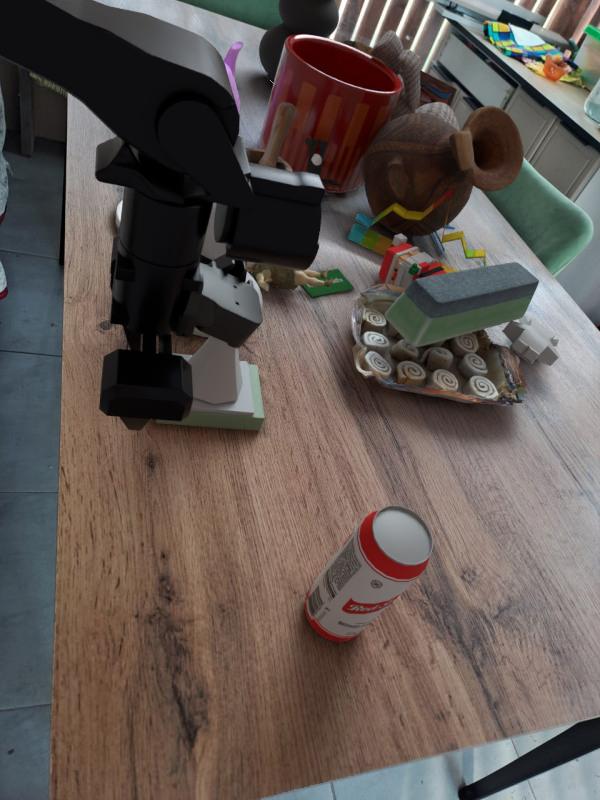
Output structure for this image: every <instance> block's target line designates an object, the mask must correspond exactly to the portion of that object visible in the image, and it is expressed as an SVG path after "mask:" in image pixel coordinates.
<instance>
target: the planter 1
mask: <svg viewBox="0 0 600 800" xmlns="http://www.w3.org/2000/svg"><path fill="white" fill-rule="evenodd" d="M341 42H342V41H338V40H335V39H331V38H328V37H326V38H324V37H320V36H315V35H308V34H296V35H292V36H289V37H288V38H287V39H286V40H285V43H284V47H283V50H282V54H281V58H280V61H279V65H278V69H277V72H276V76H275V80H274V84H272V87H271V91H270V95H269V96H270V97H269V99H268V103H267V106H266V110H265V115H264V117H263V122H262V126H261V130H260V133H259V138H258V145H257V146H258V149H262V150H266V147H267V144H268V141H269V138H270V134H271V129H272V125H273V121H274V118H275V114H276V111H277V109H278V106H279V105H280V104H281V103H282V102H287V103H290V104H292V105H293V106H294V107H295V108H296V115H295V118H294V121H293V124H292V126H291V128H290V130H289V132H288V134H287V136H286V137H285V139H284V142H283V144H282V146H281V149H280V151H279V157H280V158H282V159H283V160H284V161H286V162H287V163H288V164H289V165H290V167H291V168H292V171H293V172H306V170H307V164H308V160H309V145H306V143H305V140H306V138H311V139H314V140H317V141H318V140H323V141H326V142H327V147H326V150H325V153H324V156H323V161H322V169H321V173H320V178H321V179H331V180H334V181H336V182H338V183H339V184H342V186H335V185H331V184H323V186H324V188H325V190H326V193H329V194H330V193H331V194H342V193H350V192H352V191H353V192H354V191H355V190H357V189H359V188H360V187H361V186H363V185H364V178H363V160H364V156H365V153H366V151H367V149H368V147H369V145H370V143H371V142H372V140H373V139H374V137H375V136H376V135H377V133H378V132H379V131H380V130H381V129H382V128H383V127H384V126H385V125H386V124H387V123H389V120H390V118H391V116H392V113H393V111H394V108H395V106H396V103H397V101H398V98H399V96H400V94H401V91H402V83H401V80H400V79H399V77H398V76H397V75H396V74H395V73H394V72H393V71H392V70H391V69H390V68H388V67H387V66H386V65H384V64H383V63H381V62H380V61H378V60H377V59H375V58H373V57H371V56H370V55H368V54H366V53H364V52H362V51H360V50H358V49H356V48H353V47H351V46H349V45H346V44H343V43H341ZM381 120H382V121H381ZM319 153H320V147H318V146H317V144H316V148H315V151H314V154H318V155H319ZM329 187H330V188H329ZM332 188H333V189H332ZM334 192H335V193H334ZM338 192H339V193H338Z"/></svg>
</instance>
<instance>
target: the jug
mask: <svg viewBox="0 0 600 800" xmlns="http://www.w3.org/2000/svg"><path fill="white" fill-rule="evenodd" d="M461 127H462V128H461V129H460V131H458V130H457V129H456V128H455V127H453V126H452V125H451V124H449V123H447V122H446V121H444V120H442V119H440V118H438V117H436V116H433V115H430V114H426V113H412V114H407V115H404V116H400V117H398V118H396V119H394V120H392V121H390V122H389V123H387V124H386V125H385V126H384V127H383V128H382V129H381V130H380V131H379V132H378V133H377V135H376V136H375V137H374V139H373V140H372V142H371V143H370V145H369V147H368V149H367V151H366V153H365V156H364V160H363V178H364V182H363V185H364V190H365V195H366V199H367V203H368V206H369V208H370V210H371V213H372V215H373V216H374V218H375V217H377V216H378V215H379V214H381V213H382V212H383V211H385V210H386V209H387V208H389V207H390V206H391V205H393V204H394V203H398V204H399V205H401V206H402V207H403V208H405V209H406V210H408V211H416V212H424V211H425V210H427V209H428V208H429V207H430V206H431V205H433V204H434V203H435V202H436V201H437V200H439V199H440V198H441V197H442V196H444V195H445V194H446V193H447V192H448V191H450V190H451V189H452V188H453V192H452V197H451V196H449V197H448V198H447V199H446V200H445V201H443V202H442V203H441V204H440V205H438V206H437V207H436V208H435V209H433V210H432V211H431V212H430V213H429V214H427V215H426V216H425V217H424V218H422V219H421V220H413V219H405V218H403V217H402V216H400V215H399V214H397V213H396V212H394V211H393V209H392V211H391V212H389V213H388V214H387V215H385V216H383V217H382V218H381V219H380V220H378V221H377V222H379V223H381V224H382V225H383V226H384V227H385V228H387V230H389V231H391V232H393V233H394V234H396V235H398V234H403V235H404V236H405V237H426V236H429V235H432V233H433V234H435V232H438V231H440V230H442V229H444V228H443V227H444V226H445V221H446V217H447V221H446V225H448V224H449V225H450V224H451V223H452V222H453V221H454V220H455V219H456V218H457V217H458V216H459V215H460V213H461V212H462V211H463V209H464V208H465V207H466V205H467V204H468V202H469V201H470V198H471V196H472V192H473V189H474V188H476V189H478V190H481V191H484V192H497V191H501V190H503V189H506V188H508V187H510V186H511V185H512V184H513V183H514V182H515V180H516V179H517V178H518V176H519V174H520V172H521V170H522V167H523V164H524V159H525V158H524V157H525V156H524V155H525V153H524V152H525V151H524V146H523V144H524V143H523V141H522V136H521V132H520V130H519V127H518V126H517V124H516V122H515V120H514V119H513V118H512V116H511V115H510V114H509V113H508V112H507V111H506V110H504V109H502V108H500V107H498V106H495V105H485V106H481V107H478V108H477V109H475V110H473V111H472V112H471V113H470V115H469V116H468V117H467V119H466V120H465V122H464V123H463V125H462V126H461ZM450 197H451V202H450ZM449 202H450V207H449ZM394 205H395V204H394ZM448 207H449V211H448ZM393 208H394V207H393ZM408 211H407V212H408ZM447 212H448V216H447ZM405 217H406V216H405Z"/></svg>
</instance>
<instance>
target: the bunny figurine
mask: <svg viewBox="0 0 600 800" xmlns="http://www.w3.org/2000/svg"><path fill="white" fill-rule="evenodd" d="M502 333H503V334H504V335H505V337H507V339H508V340H509V341H510V342H511V343H512V344H511V345H510V346H509V348H510V349H511V350H512V351H513V352H514V353H515V354H516V355H517V356H519V357H520V358H521V359H523V360H524V361H526V362H527V363H528V364H529V365H532V364H534V362H535V361H538V362H539V363H542V364H544V365H546V366H549V367H551V366H552V365H553V364H554V363H555V362H556V361H557V360H558V359H559V357H560V356H561V355H560V353H559V351H558V350H557V348H555V347H557V346H558V345H559V344H558V343H559V340H560V339H559V337H558V336H557V333H555V332H553V331H552V330H551V329H549V328H548V327H546V326H545V325H544V324H543V323H541V322H539V321H538V320H536V319H535V317H529V316H528V315H526V314H524V316H523V317H522V318H520V319H518V321H516V320H514V321H510V322H507V324H506V326H505V327H504V328H503V329H502Z"/></svg>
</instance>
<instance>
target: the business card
mask: <svg viewBox="0 0 600 800" xmlns="http://www.w3.org/2000/svg"><path fill="white" fill-rule="evenodd" d="M323 271H324V272H325V271H326V270H323ZM317 272H318V273H320V272H321V271H317ZM331 278H333V280H332V284H331V286H329V287H327V286H316V287H312V286H309V285H308V284H306V285H301V286H302V288H303V289H304V291H306V293H307V294H308V295H309V296H310V297H311V298H317V297H321V296H326V295H331V294H336V293H342V292H347V291H352V290H354V289H355V287H354V286H353V284H352V283H351V282H350V280H348V279H347V277H346V276H345V275H344V274H343V273H342V272H341V270H340V269H339V268H334V269H328V272H327V277H326V278H321V277H316V279H318V280H320V281H324V282H325V280H328V281H330V279H331Z"/></svg>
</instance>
